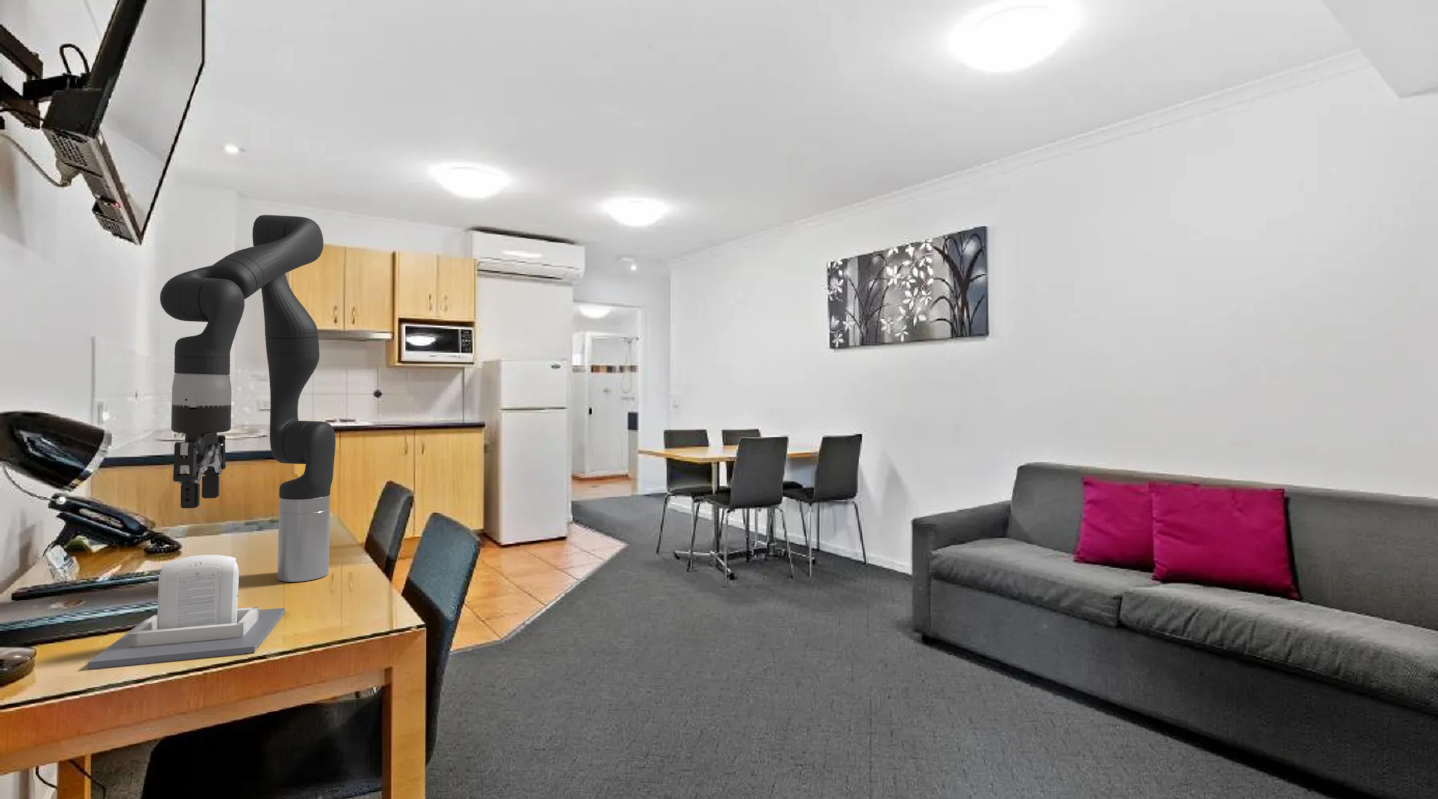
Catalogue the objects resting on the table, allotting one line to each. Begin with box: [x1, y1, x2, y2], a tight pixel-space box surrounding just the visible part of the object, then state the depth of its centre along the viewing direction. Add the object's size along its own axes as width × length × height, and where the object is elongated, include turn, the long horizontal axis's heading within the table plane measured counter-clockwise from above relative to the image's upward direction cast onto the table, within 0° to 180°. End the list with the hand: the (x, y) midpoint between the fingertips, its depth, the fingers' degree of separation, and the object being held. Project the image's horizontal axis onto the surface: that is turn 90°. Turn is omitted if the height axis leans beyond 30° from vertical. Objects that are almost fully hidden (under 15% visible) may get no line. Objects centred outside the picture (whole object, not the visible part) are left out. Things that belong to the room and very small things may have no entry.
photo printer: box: [156, 554, 240, 630], centre depth 105 cm, size 10×4×12 cm, turn 121°
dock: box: [87, 606, 286, 670], centre depth 105 cm, size 18×20×3 cm
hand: (200, 502), depth 105 cm, fingers open, 8 cm apart
